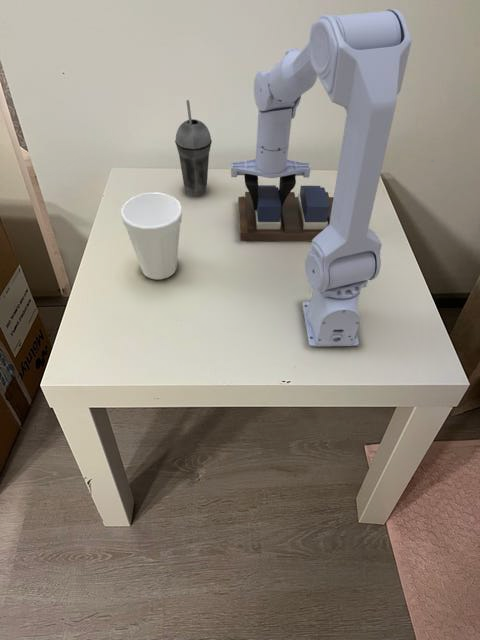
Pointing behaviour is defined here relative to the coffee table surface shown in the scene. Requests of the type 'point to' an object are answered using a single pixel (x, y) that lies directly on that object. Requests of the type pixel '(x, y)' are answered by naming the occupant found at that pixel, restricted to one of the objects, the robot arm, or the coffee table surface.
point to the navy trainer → (268, 207)
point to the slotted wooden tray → (289, 219)
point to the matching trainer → (313, 207)
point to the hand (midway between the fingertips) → (267, 207)
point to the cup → (154, 231)
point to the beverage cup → (193, 154)
